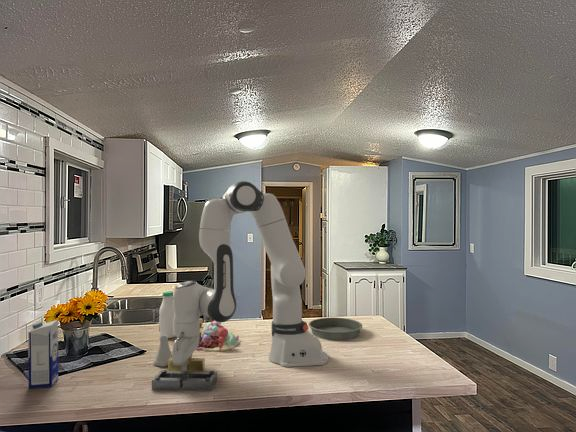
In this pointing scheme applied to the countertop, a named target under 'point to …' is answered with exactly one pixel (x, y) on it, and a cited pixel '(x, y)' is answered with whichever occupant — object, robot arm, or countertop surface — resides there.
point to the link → (169, 380)
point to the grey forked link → (200, 381)
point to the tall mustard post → (189, 365)
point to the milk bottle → (166, 315)
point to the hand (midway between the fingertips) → (186, 368)
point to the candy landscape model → (216, 337)
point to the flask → (163, 352)
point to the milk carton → (43, 354)
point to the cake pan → (335, 328)
